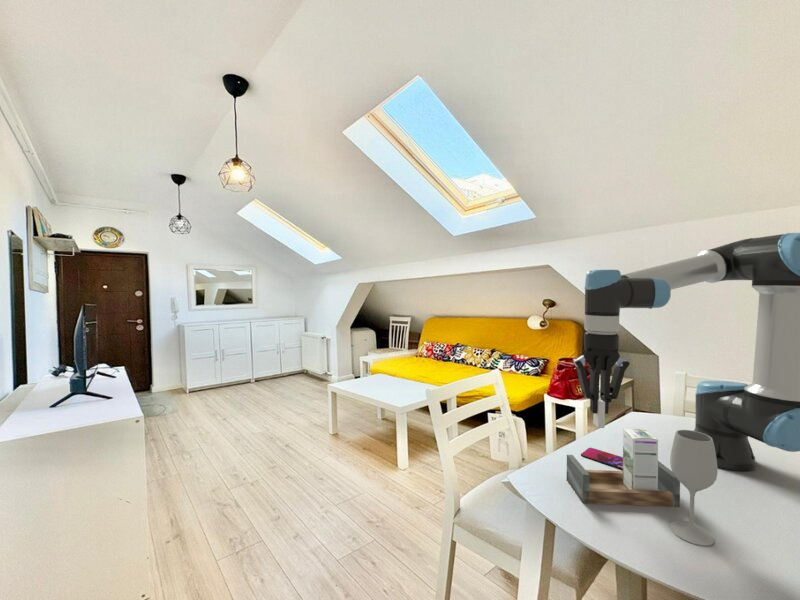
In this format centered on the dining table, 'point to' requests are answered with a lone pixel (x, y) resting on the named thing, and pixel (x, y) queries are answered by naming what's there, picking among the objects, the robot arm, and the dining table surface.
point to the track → (620, 487)
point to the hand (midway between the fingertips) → (598, 425)
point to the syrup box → (640, 460)
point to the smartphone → (604, 458)
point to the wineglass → (693, 478)
